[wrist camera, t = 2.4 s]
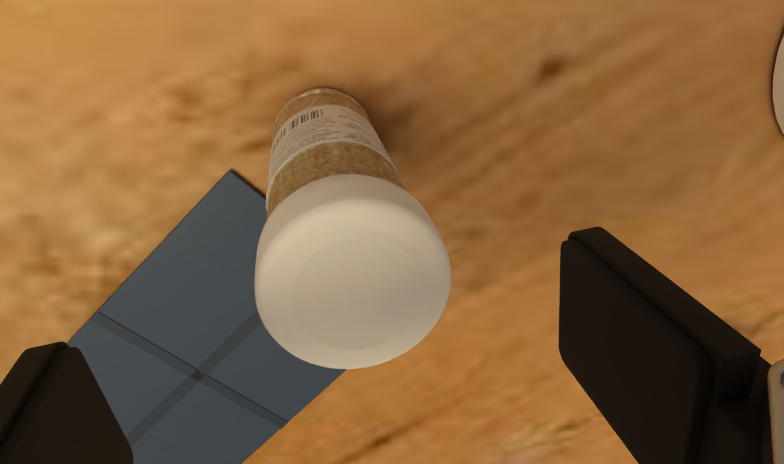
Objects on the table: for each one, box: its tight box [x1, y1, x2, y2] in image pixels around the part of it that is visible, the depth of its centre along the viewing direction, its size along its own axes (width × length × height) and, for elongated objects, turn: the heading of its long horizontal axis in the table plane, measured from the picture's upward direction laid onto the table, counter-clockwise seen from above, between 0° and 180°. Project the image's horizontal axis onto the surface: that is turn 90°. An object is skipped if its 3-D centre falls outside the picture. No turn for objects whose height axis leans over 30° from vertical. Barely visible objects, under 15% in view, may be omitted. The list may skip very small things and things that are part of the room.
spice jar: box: [254, 88, 451, 369], centre depth 18 cm, size 5×5×13 cm
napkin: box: [67, 169, 346, 464], centre depth 28 cm, size 20×12×1 cm, turn 133°
